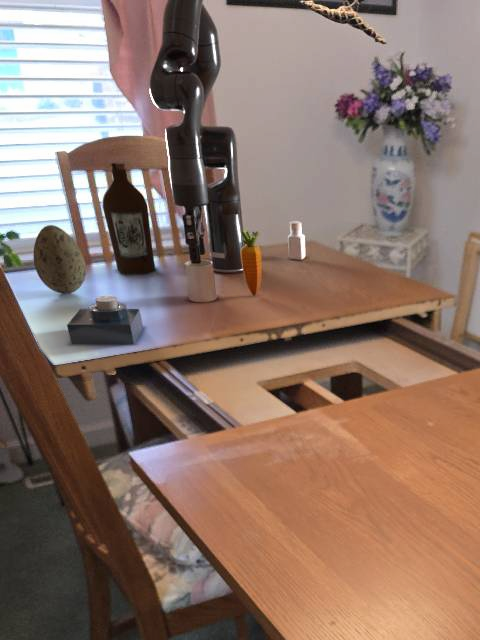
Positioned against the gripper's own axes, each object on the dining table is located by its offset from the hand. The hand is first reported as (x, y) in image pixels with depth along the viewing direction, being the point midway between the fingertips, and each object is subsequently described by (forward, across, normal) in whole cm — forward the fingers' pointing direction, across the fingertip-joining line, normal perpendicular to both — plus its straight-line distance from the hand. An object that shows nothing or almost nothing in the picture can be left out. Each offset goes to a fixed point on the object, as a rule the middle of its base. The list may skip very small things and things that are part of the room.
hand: (198, 258), depth 162 cm
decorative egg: (+9, +5, +32) cm, 34 cm away
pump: (+4, -26, +15) cm, 30 cm away
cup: (+9, 0, 0) cm, 9 cm away
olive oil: (+9, +26, +20) cm, 34 cm away
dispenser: (+9, -26, +16) cm, 32 cm away
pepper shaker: (+9, +38, -22) cm, 45 cm away
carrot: (+9, +2, -12) cm, 15 cm away
